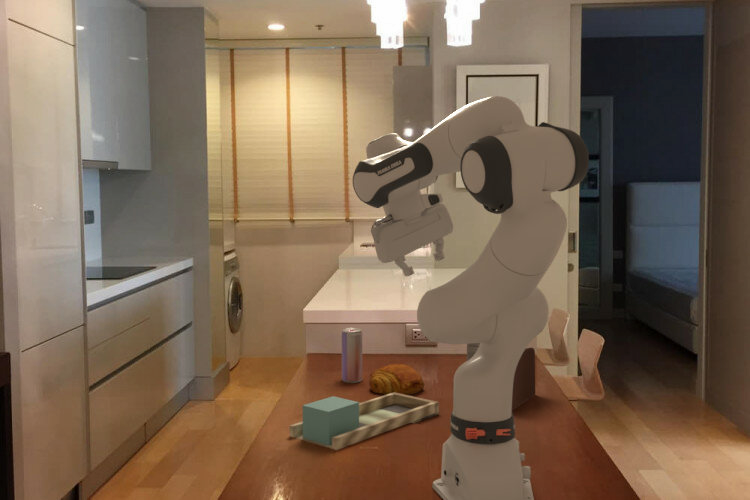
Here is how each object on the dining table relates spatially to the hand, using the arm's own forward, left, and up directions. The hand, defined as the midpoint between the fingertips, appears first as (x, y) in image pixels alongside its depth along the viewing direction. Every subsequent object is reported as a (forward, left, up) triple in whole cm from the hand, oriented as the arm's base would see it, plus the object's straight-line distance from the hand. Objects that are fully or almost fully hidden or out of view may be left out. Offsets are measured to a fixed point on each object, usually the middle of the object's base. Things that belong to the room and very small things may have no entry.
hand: (425, 267), depth 181 cm
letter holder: (+31, -26, -40) cm, 57 cm away
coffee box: (+60, -25, -39) cm, 76 cm away
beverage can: (+56, +13, -39) cm, 70 cm away
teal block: (+3, +21, -39) cm, 44 cm away
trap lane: (+12, +12, -39) cm, 43 cm away
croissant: (+45, +1, -40) cm, 60 cm away
